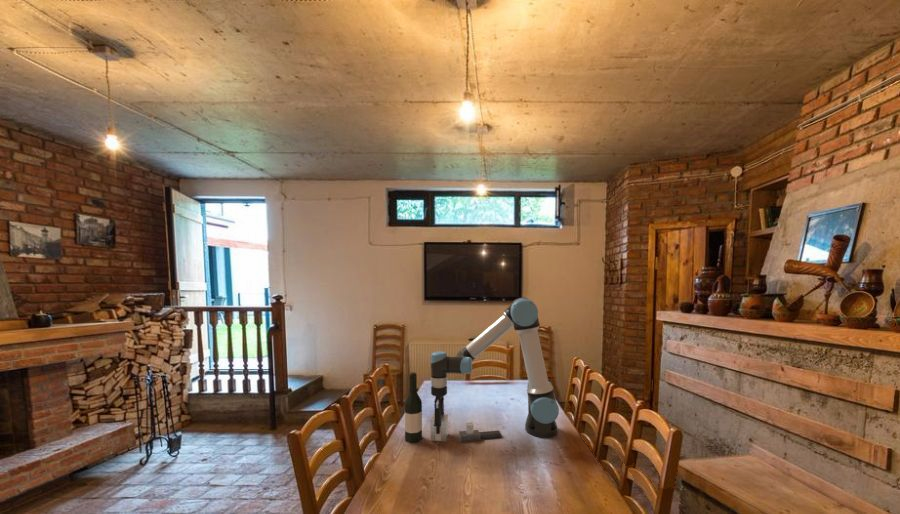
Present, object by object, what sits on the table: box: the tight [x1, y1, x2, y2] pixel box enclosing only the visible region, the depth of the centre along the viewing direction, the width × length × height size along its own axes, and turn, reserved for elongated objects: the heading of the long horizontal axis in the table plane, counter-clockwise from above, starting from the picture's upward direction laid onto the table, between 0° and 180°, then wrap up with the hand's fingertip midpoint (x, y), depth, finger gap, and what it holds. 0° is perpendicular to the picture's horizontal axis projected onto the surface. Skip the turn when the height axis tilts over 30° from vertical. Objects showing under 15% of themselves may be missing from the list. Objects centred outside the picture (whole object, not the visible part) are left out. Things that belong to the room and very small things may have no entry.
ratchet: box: [458, 421, 502, 443], centre depth 151 cm, size 19×5×6 cm, turn 99°
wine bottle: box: [404, 371, 423, 444], centre depth 153 cm, size 8×8×30 cm
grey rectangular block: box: [430, 413, 449, 442], centre depth 152 cm, size 7×7×9 cm
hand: (439, 436), depth 152 cm, fingers closed on grey rectangular block, 7 cm apart
